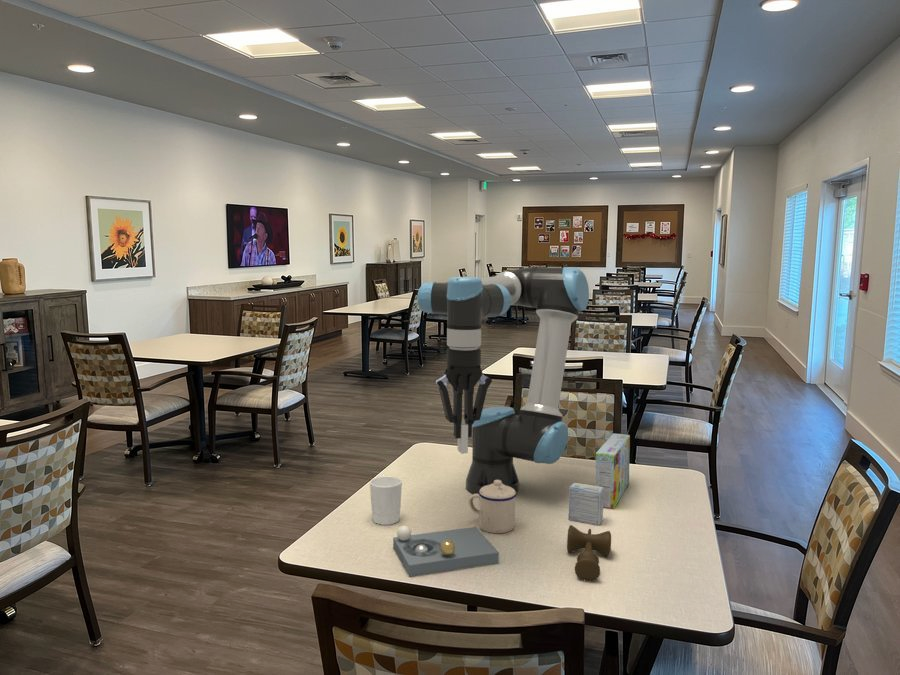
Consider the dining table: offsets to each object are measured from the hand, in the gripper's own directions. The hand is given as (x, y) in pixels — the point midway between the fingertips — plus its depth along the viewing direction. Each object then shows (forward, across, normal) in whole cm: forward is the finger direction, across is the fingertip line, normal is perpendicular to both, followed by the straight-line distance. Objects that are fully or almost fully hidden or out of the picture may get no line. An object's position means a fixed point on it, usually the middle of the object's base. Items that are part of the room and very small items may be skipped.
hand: (462, 451), depth 146 cm
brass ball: (+18, +6, +8) cm, 21 cm away
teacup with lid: (+23, -11, -9) cm, 27 cm away
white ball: (+18, +13, -2) cm, 23 cm away
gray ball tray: (+22, +5, +3) cm, 23 cm away
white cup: (+23, +13, -20) cm, 33 cm away
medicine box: (+23, -35, -5) cm, 42 cm away
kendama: (+23, -24, +14) cm, 36 cm away
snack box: (+23, -51, -18) cm, 59 cm away
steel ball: (+21, +10, +3) cm, 23 cm away
